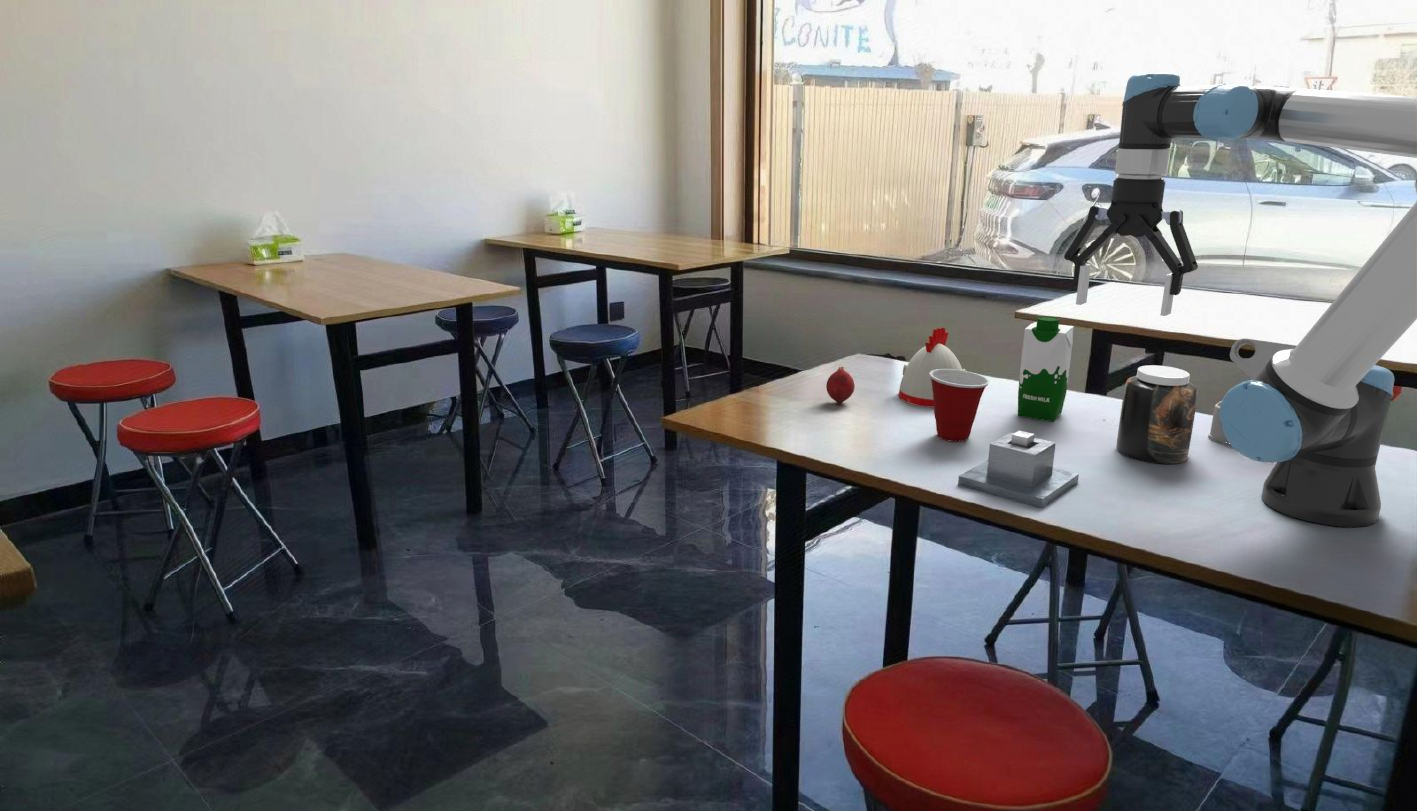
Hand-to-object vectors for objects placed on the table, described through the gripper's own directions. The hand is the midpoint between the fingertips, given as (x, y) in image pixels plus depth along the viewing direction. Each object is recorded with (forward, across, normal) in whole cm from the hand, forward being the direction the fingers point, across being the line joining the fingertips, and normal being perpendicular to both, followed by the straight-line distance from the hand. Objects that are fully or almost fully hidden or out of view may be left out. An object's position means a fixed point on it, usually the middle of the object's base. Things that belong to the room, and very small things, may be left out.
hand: (1122, 309), depth 152 cm
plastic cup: (+27, +25, +6) cm, 37 cm away
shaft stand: (+27, +6, +20) cm, 34 cm away
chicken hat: (+27, +41, -14) cm, 51 cm away
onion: (+27, +53, +3) cm, 60 cm away
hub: (+25, +6, +20) cm, 33 cm away
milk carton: (+27, +19, -18) cm, 38 cm away
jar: (+27, -5, -10) cm, 29 cm away
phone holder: (+27, -18, -29) cm, 44 cm away
